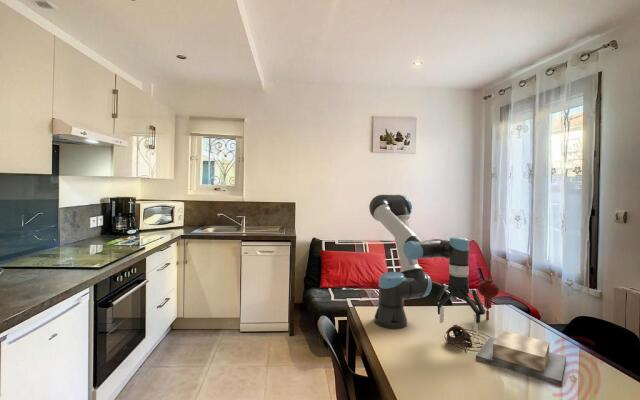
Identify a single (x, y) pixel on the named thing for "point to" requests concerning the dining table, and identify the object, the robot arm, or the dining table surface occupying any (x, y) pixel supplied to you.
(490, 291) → the lantern
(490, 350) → the build base
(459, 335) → the pottery mug
